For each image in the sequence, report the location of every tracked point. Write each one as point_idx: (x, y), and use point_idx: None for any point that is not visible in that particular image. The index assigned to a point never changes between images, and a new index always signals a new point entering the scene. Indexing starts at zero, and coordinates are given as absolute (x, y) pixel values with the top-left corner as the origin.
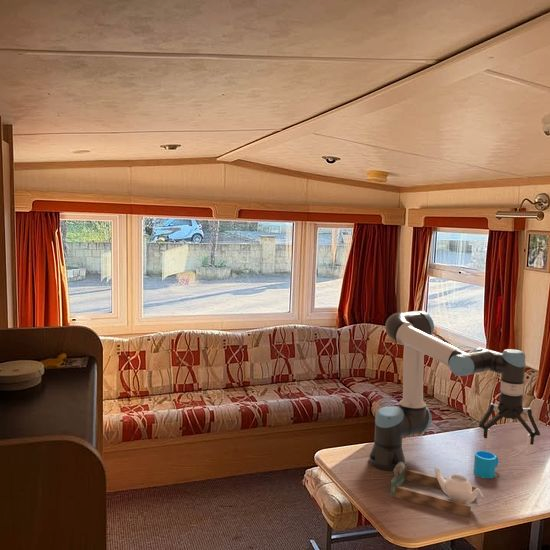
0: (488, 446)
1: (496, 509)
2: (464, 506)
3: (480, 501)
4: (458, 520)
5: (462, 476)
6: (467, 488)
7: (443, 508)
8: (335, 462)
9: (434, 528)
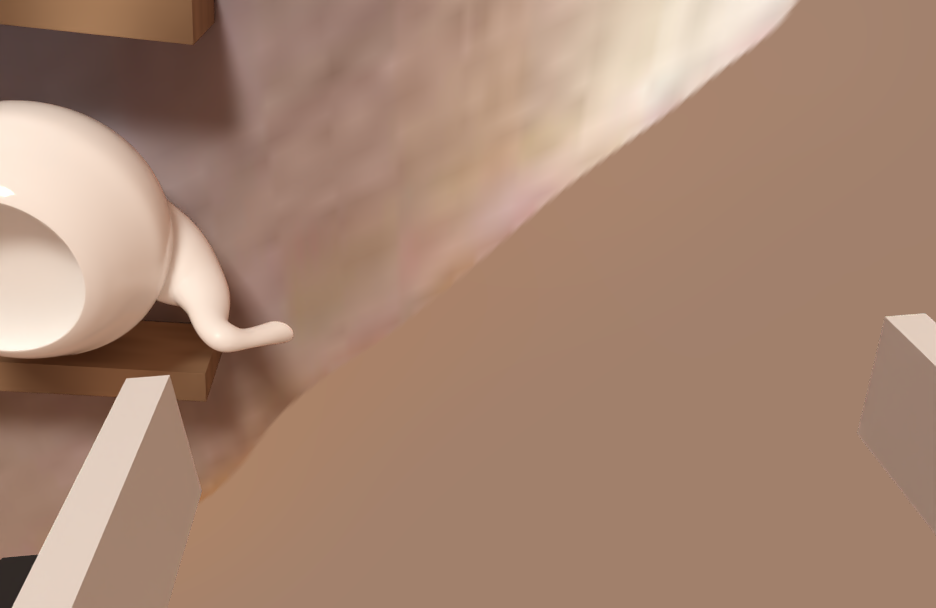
0: (188, 518)
1: (404, 155)
2: None
3: (266, 74)
4: None
5: (10, 181)
6: (126, 322)
7: None
8: None
9: None
